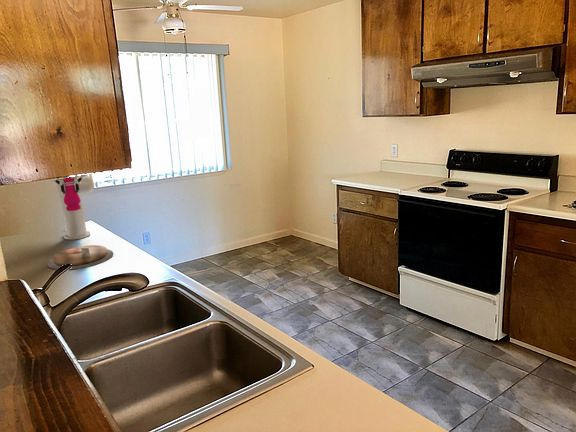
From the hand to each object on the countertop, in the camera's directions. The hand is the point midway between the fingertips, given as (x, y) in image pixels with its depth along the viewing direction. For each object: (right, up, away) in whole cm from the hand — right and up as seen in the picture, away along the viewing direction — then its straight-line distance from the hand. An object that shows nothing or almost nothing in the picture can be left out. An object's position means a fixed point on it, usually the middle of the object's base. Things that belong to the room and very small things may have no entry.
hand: (70, 192), depth 219 cm
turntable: (+11, -31, -13) cm, 35 cm away
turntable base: (+11, -31, -13) cm, 35 cm away
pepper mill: (0, -8, +2) cm, 9 cm away
